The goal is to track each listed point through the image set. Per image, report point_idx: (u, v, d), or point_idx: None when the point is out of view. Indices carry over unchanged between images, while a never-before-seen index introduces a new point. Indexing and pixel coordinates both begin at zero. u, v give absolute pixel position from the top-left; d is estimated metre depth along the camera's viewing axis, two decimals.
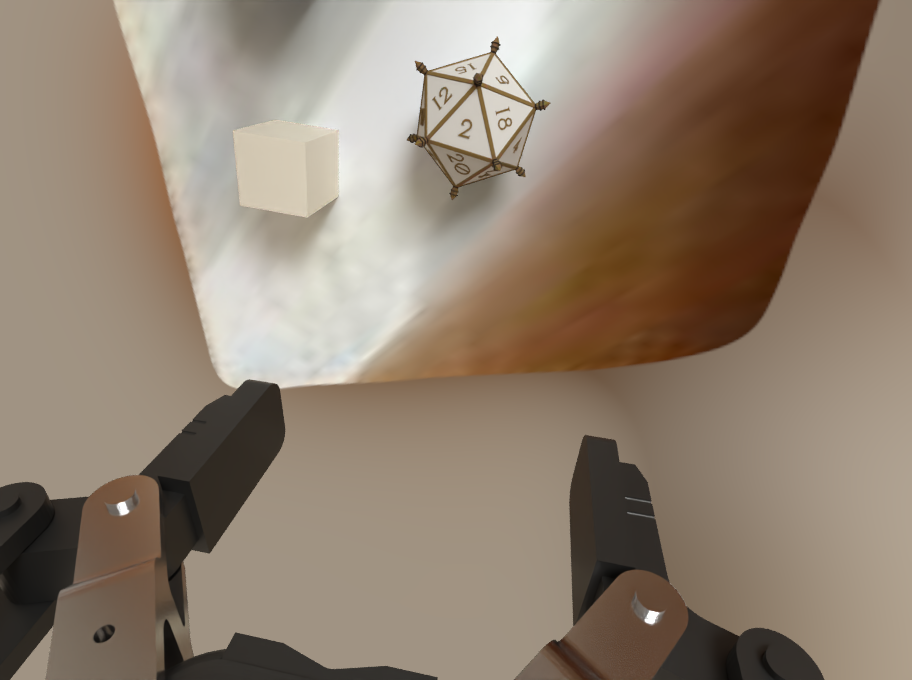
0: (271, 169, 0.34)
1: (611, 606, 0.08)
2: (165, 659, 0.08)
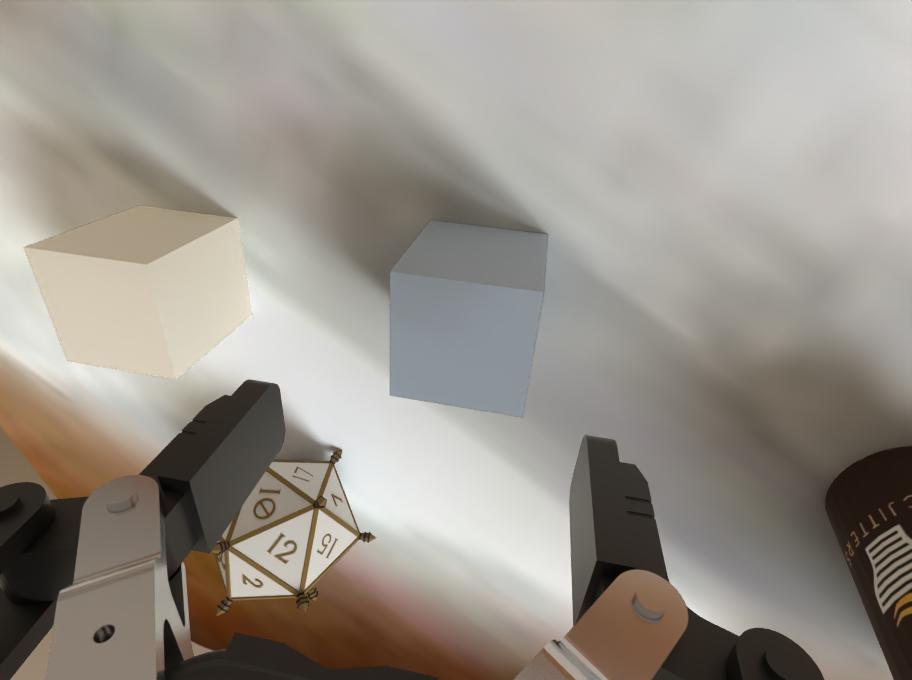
0: (114, 320, 0.20)
1: (611, 606, 0.08)
2: (165, 659, 0.08)
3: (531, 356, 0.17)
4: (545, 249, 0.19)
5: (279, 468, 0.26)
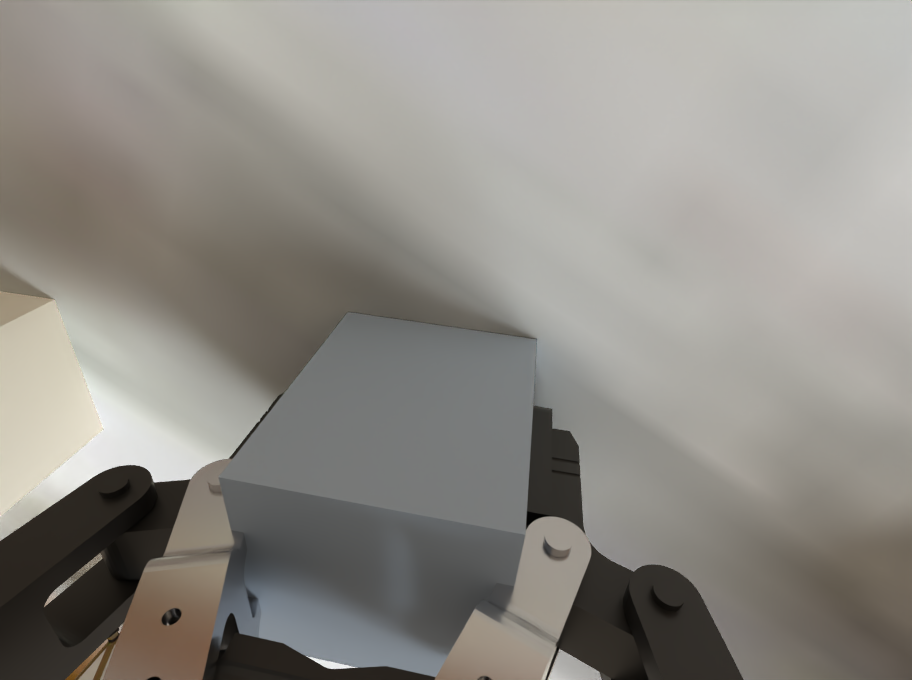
0: None
1: None
2: None
3: None
4: (531, 383, 0.11)
5: None
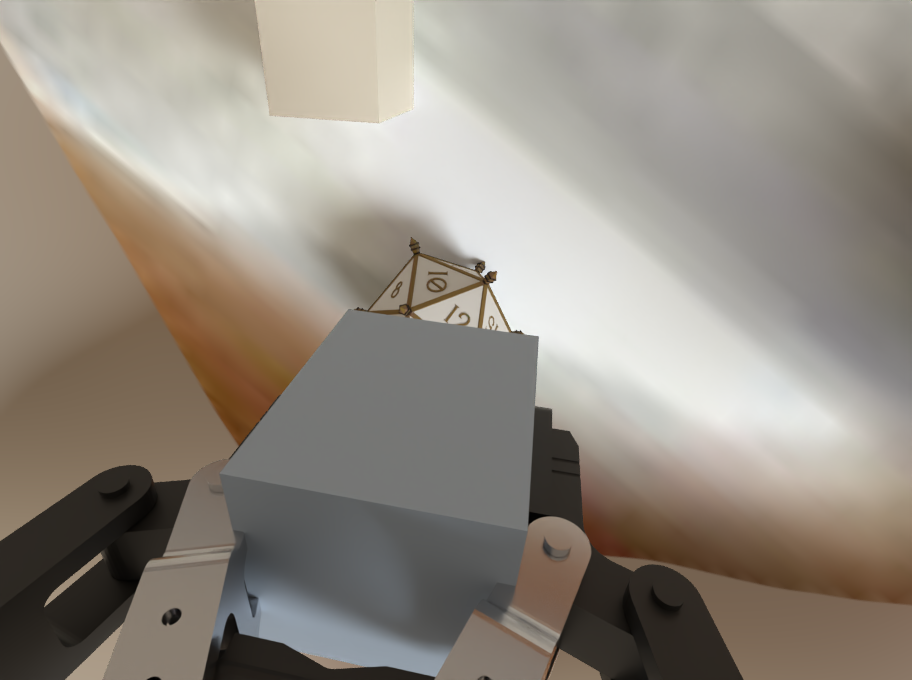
0: (327, 55, 0.21)
1: None
2: None
3: None
4: (533, 380, 0.11)
5: None
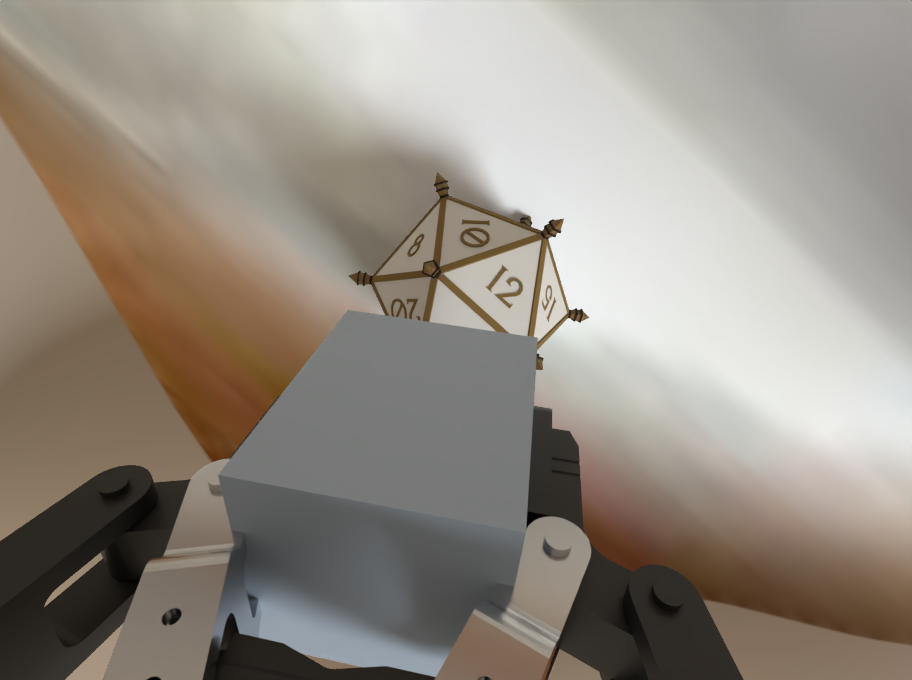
0: None
1: None
2: None
3: None
4: (532, 381, 0.11)
5: None
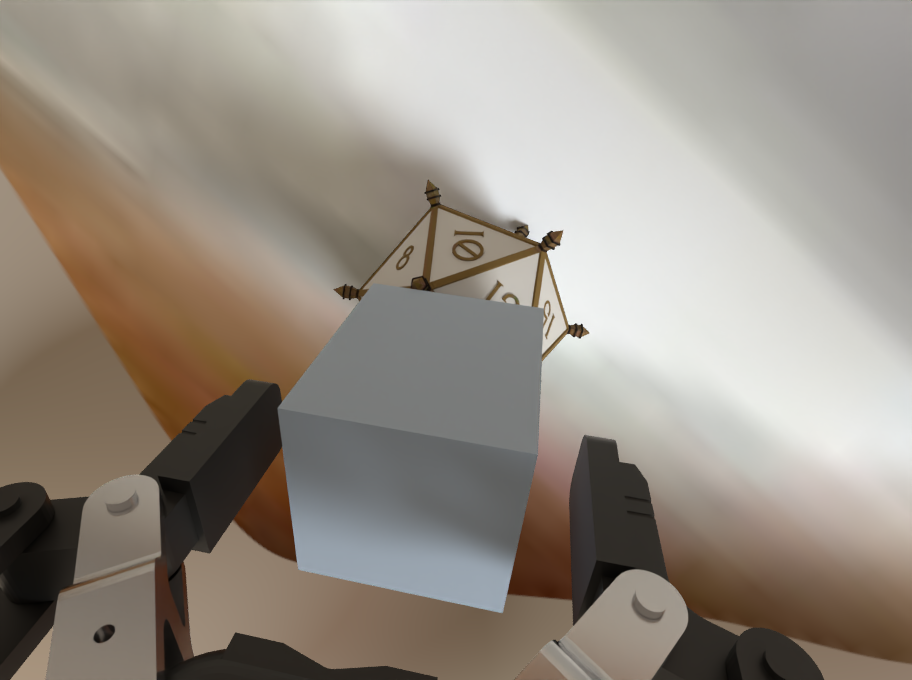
0: None
1: (611, 606, 0.08)
2: (165, 659, 0.08)
3: (516, 539, 0.10)
4: (539, 343, 0.13)
5: None
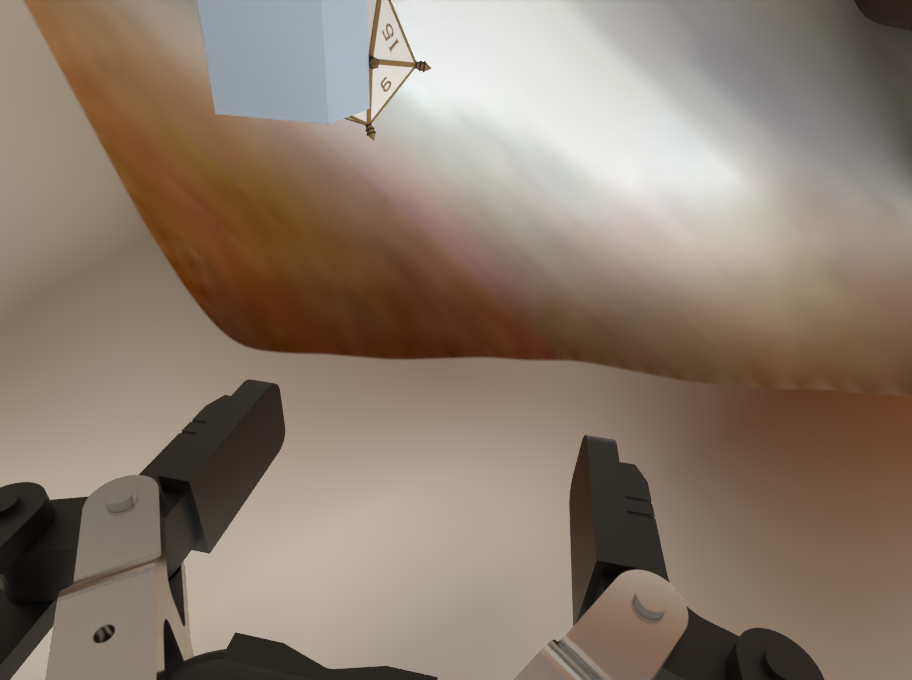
0: None
1: (611, 606, 0.08)
2: (165, 659, 0.08)
3: (323, 52, 0.20)
4: None
5: None
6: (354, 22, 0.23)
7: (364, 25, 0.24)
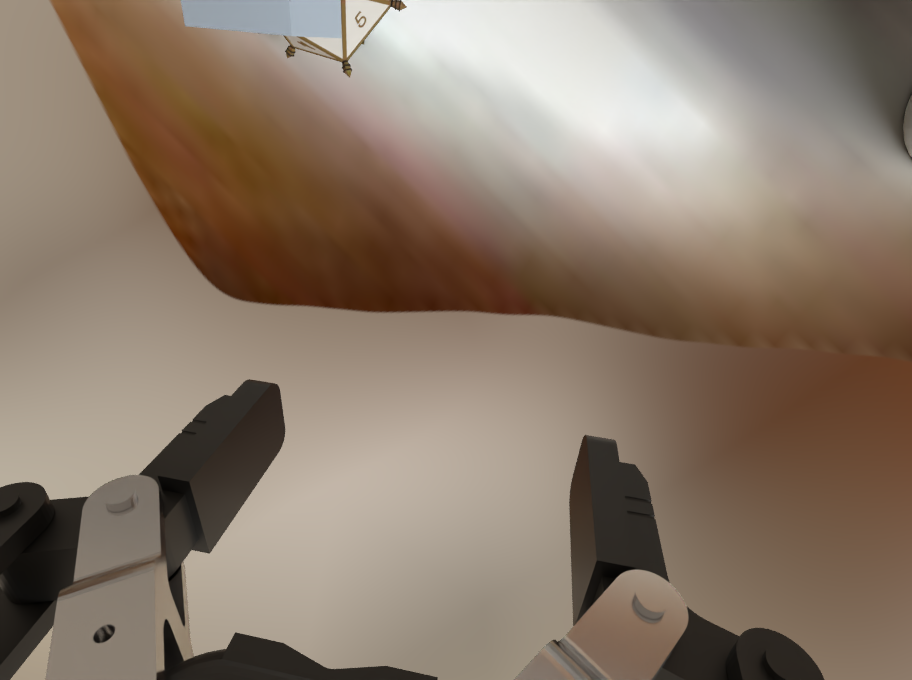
0: None
1: (611, 606, 0.08)
2: (165, 659, 0.08)
3: None
4: None
5: None
6: None
7: None
